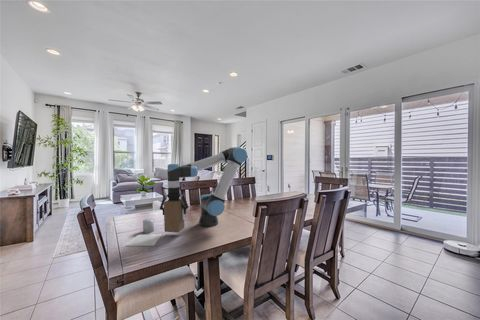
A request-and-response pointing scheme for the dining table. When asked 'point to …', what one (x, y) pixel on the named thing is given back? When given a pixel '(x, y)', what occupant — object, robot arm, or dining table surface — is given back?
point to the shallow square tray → (145, 240)
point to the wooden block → (173, 216)
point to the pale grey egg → (148, 225)
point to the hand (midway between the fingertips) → (174, 219)
